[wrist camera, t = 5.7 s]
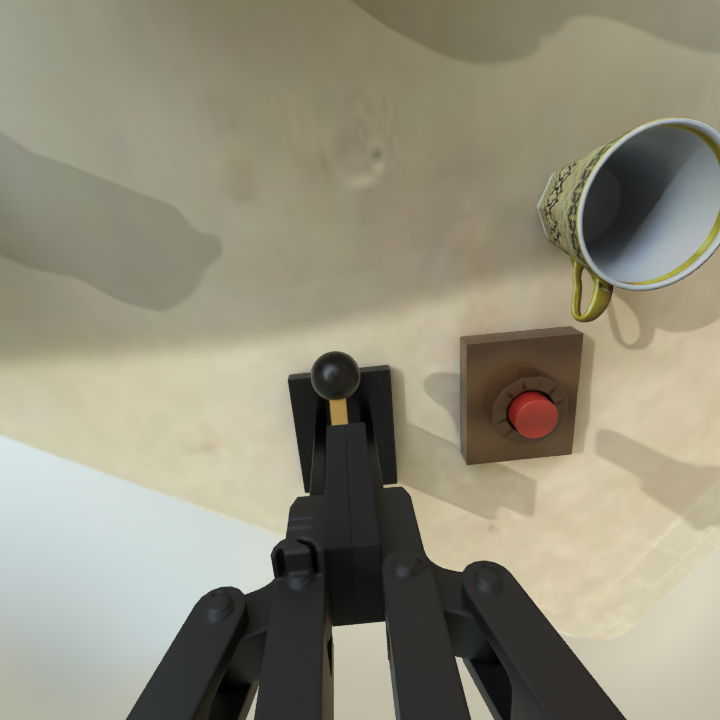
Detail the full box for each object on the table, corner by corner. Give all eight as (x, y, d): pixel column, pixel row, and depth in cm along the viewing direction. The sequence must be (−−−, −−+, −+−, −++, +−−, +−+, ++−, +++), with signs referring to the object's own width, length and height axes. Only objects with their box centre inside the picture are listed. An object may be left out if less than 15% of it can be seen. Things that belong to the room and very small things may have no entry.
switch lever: (310, 354, 33) (306, 352, 29) (357, 350, 33) (358, 347, 29) (328, 537, 32) (325, 556, 29) (375, 532, 32) (378, 550, 29)
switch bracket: (288, 374, 41) (265, 470, 27) (388, 364, 41) (416, 455, 27) (305, 485, 45) (293, 617, 31) (395, 476, 45) (423, 603, 31)
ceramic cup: (551, 115, 34) (632, 88, 25) (661, 162, 36) (776, 154, 27) (480, 278, 39) (527, 306, 29) (582, 313, 40) (657, 352, 31)
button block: (460, 336, 40) (472, 351, 37) (571, 326, 40) (594, 340, 37) (460, 452, 45) (472, 476, 41) (560, 442, 45) (581, 465, 41)
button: (508, 393, 38) (516, 402, 37) (550, 388, 39) (560, 397, 37) (507, 430, 40) (514, 440, 38) (547, 426, 40) (556, 436, 38)
